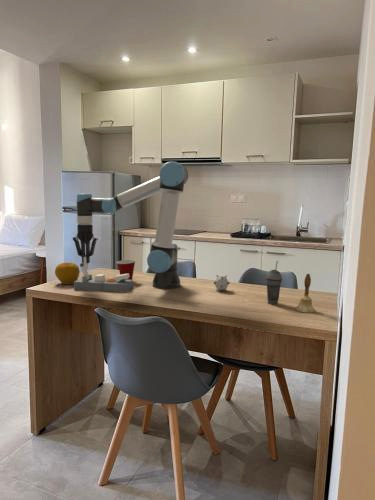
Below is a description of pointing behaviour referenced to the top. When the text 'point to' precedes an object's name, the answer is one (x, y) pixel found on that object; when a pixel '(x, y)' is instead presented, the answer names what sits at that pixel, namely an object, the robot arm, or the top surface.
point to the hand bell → (306, 298)
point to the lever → (84, 271)
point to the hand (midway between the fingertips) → (85, 269)
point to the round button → (111, 279)
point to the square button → (100, 278)
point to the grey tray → (103, 285)
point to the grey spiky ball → (221, 283)
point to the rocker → (122, 276)
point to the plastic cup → (126, 267)
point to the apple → (67, 273)
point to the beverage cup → (273, 286)
